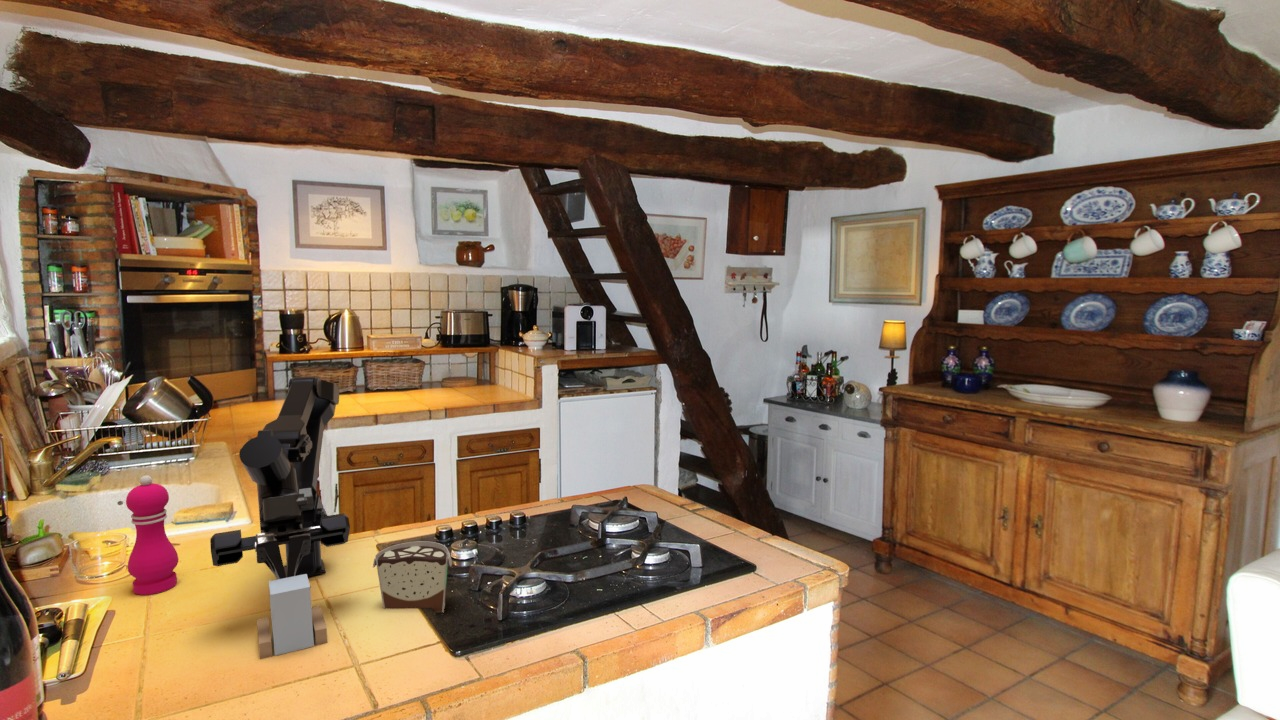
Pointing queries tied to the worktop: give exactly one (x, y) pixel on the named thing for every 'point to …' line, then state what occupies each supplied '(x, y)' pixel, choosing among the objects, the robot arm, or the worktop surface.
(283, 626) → the block
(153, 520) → the pepper mill
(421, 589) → the food container
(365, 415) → the worktop surface
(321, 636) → the tan cradle
